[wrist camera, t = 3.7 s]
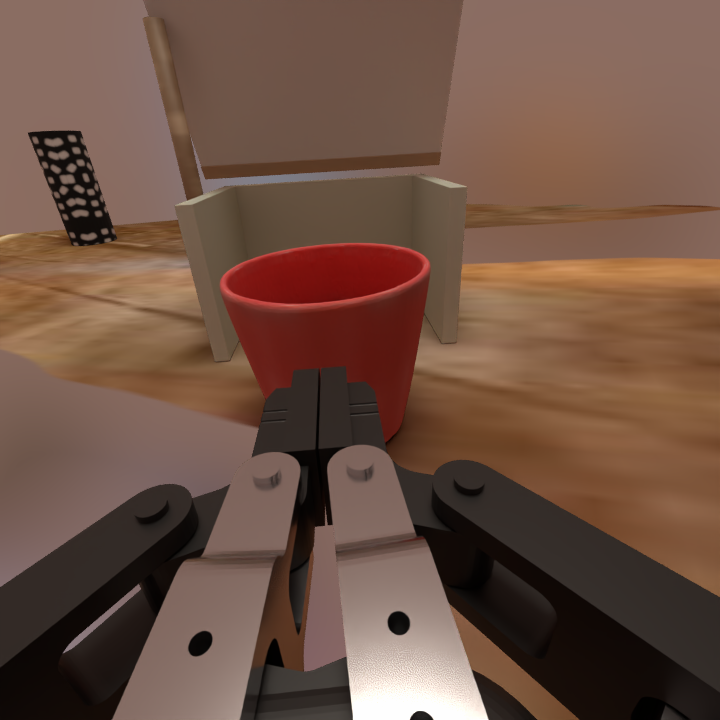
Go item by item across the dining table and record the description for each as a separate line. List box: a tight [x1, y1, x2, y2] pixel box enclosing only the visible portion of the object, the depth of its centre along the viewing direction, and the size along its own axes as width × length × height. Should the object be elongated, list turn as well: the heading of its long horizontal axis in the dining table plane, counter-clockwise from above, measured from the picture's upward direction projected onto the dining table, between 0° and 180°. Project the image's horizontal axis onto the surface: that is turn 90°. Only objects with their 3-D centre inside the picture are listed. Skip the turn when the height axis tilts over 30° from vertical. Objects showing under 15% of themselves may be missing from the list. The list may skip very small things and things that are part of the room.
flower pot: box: [220, 243, 431, 443], centre depth 22 cm, size 11×11×10 cm
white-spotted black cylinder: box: [28, 131, 117, 246], centre depth 79 cm, size 8×8×20 cm
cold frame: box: [175, 174, 467, 362], centre depth 36 cm, size 20×15×12 cm
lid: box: [143, 0, 463, 179], centre depth 33 cm, size 23×15×1 cm
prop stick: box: [143, 17, 203, 201], centre depth 34 cm, size 1×1×24 cm
